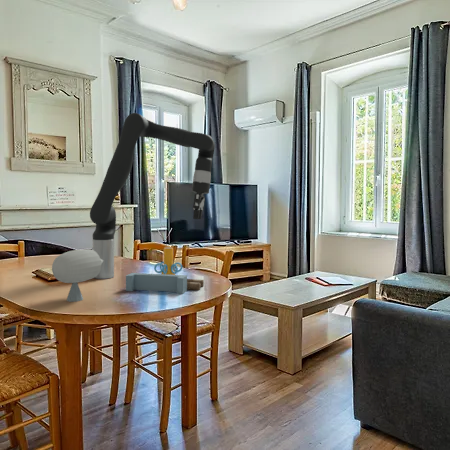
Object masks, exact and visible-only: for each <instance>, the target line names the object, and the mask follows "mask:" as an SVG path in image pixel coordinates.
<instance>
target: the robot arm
mask: <svg viewBox="0 0 450 450" xmlns="http://www.w3.org/2000/svg"><path fill="white" fill-rule="evenodd" d="M139 138H148V139H149V138H152V139H156V140H161V141H165V142H168V143H169V144H170V143H171V144H174V145H176V146H180V147H184V148H193V149H196V150H198V155H197V158H196V159H195V160H196V161H195V165H194V172H193V176H192V185H191V192H193V193H195V194H194V199H193V206H192V209H193V216H192V217H193V219H194V220H202V215H203V210H204V205H205V196H204V194H205V195H207V194H210V187H211V181H212V179H211V178H212V175H211V174H212V167H213V166H212V165H213V164H212V163H213V157H214V153H215V148H216V146H215V145H216V144H215V141H214V140H213V137H212V136H211V135H209V134H205V133H204V132H203V133H201V132H195V131H191V130H187V129H183V128H179V127H176V126H174V127H173V126H169V125H167V126H166V125H162V124H158V123H155V122H153V121H151V120H149V119H148V118H146V117H144V116H143V115H142V114H140V113H137V112H132V113H130V114H129V115H127V116H126V117H125V119H124V122H123V126H122V130H121V133H120V138H119V141H118V143H117V146H116V147H115V150H114V152H113V156H112V157H111V161H110V162H109V165H108V167H107V170H106V174H105V177H104V179H103V181H102V184H101V187H100V189H99V192H98V194H97V197H96V198H95V200H94V202H93V204H92V206H91V207H90V211H89V217H90V221H91V222H92V223H93V224H95V229H94V231H93V232H92V250H94V251H95V252H96V253H97V254H98V255H99V257H100V258H101V259H102V260H103V262H102V264H101V270H100V273H99V274H98V275H97V276H96V277H94V278H93V279H99V280H100V279H101V280H102V279H111V278H114V277H115V234H116V228H117V227H116V226H117V213H116V210H115V208H114V206H113V204H114V201H115V198H116V196H117V195H118V194H119V192H120V191H121V190H122V188H123V187H124V186H125V184H126V182H127V180H128V179H129V176H130V173H131V171H132V167H133V161H134V154H135V147H136V145H137V143H138V140H139Z"/></svg>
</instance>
